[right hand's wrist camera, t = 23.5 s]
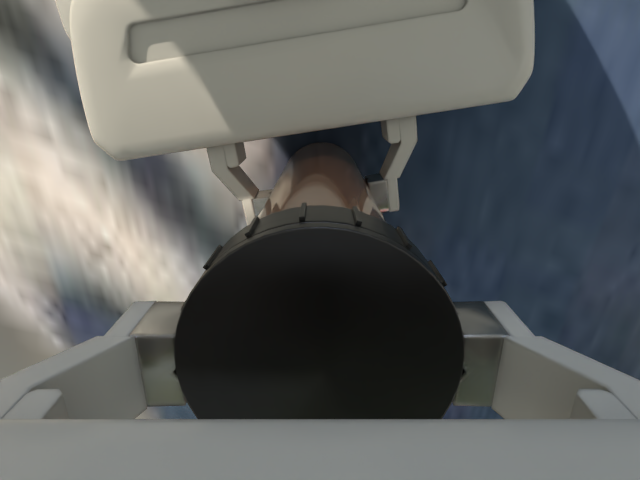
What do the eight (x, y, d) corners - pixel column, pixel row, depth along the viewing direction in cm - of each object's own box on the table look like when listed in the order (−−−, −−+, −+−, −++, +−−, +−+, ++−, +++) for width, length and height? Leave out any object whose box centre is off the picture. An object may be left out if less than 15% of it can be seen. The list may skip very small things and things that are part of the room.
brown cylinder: (345, 131, 26) (397, 201, 8) (369, 204, 28) (458, 401, 9) (272, 157, 27) (165, 279, 9) (299, 227, 28) (256, 457, 10)
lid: (371, 453, 11) (379, 512, 10) (160, 372, 10) (131, 421, 9) (493, 269, 9) (528, 304, 8) (250, 156, 9) (234, 168, 7)
